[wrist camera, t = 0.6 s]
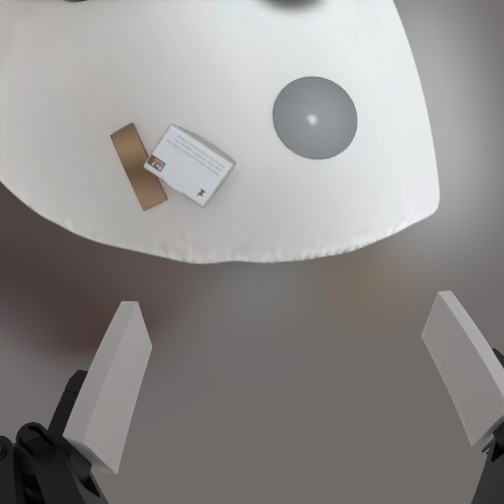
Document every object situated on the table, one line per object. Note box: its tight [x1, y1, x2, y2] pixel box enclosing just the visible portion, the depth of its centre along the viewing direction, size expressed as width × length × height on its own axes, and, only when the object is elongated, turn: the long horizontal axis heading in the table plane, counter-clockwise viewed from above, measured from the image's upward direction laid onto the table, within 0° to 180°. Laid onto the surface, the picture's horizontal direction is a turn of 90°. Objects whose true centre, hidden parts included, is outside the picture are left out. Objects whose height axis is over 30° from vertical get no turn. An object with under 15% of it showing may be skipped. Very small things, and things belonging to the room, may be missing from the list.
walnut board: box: [110, 123, 167, 211], centre depth 33 cm, size 10×3×1 cm, turn 23°
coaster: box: [273, 76, 357, 159], centre depth 33 cm, size 10×10×1 cm
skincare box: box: [144, 124, 236, 208], centre depth 28 cm, size 6×4×12 cm
